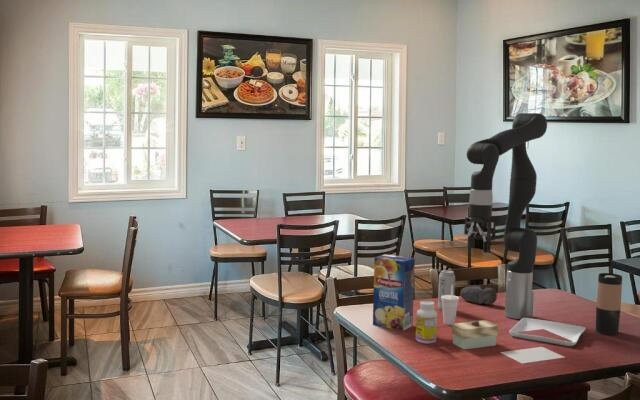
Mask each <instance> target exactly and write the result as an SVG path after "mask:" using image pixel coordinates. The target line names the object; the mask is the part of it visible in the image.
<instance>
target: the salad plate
mask: <svg viewBox="0 0 640 400" xmlns="http://www.w3.org/2000/svg"><path fill="white" fill-rule="evenodd" d="M586 329H587V328H586V327H585V326H581V325H574V324H569V323H565V322H559V321H558V322H557V321H551V320H545V319H537V318H532V317H530V318H522V319H519V321H518V322H517V323H516V324H515V325H514V326H512V327H511V328H510V329H509V331H508V333H509V334H510V335H511V336H512V337H514V338H519V339H524V340H525V339H526V340H530V341H536V342H537V341H538V342H542V343H543V342H544V343H549V344H553V345H554V344H555V345H559V346H560V345H561V346H565V347H573V346H574V347H575V345H576V344H577V343H578V341H579V338H580V337H581V336H582V334H583V333H584V332H585V331H586ZM538 330H545V331H547V332H549V333H551V334H555V335H557V336H560V337H562V338H563V340H561V339H557V338H552V337H547V336H542V335H534V334H525V333H522V332H529V331H538ZM564 339H566V340H569V341H566V340H564Z"/></svg>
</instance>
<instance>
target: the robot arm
mask: <svg viewBox="0 0 640 400" xmlns="http://www.w3.org/2000/svg"><path fill="white" fill-rule="evenodd" d="M547 129H548V121H547V118H546V116H545V115H543V114H542V113H536V112H534V113H532V112H528V113H526V112H523V113H521V112H520V113H517V114H515V116H514V118H513V121H512V126H511V128H509V129H506V130H502V131H500V132H498V133H496V134H494V135H493V136H491V137H489V138H485V139H482V140H478V141H476V142H473V143H472V144H470V146H468V148H467V150H466V158H467V161H469V162H470V163H471V164H473V165H482V168H481V169H480V170H478V171H474V172H472V173H471V176H470V193H469V199H468V200H469V203H468V204H469V205H468V216H469V217H465V219H464V232H463V235H466V237H467V248H468V249H474V248H475V247H476V245H475V244H476V235H477V234H479V235H480V236H481V237H482V240H483V241H482V243H483V245H482V248H483V249H482V251H483V253H488V254H489V253H491V252H490V251H491V242H492V241H495V240H496V222H495V221H492V222H490V218H491V217H492V215H493V178H494V174H495V171H496V169H497V165H498V163H499V160H500V156H502V155H504V154H506V153H507V152H509V151H510V150H512V151H511V153H512V154H511V156H512V157H511V169H510V179H509V182H510V183H509V196H508V197H509V199H508V208H507V215H506V220H505V226H504V231H503V245H504V248H505V249H506V250H507V251H509V252H515V253H518V258H517V259H515V260H510V261H508V262H507V265H506V281H505V302H504V303H505V304H504V315H505V317H508V318H511V319H515V320H521V319H522V318H533V316H534V303H535V302H534V298H535V292H534V291H533V277H534V274H533V273H534V267H535V263H536V256H537V247H538V236H537V233H536V231H535V230H533V229H531V228H525V227H521V222H522V218H523V214H524V212H525V210H526V208H527V207H528V206H529V205H530V203H531V201H532V200H533V198H534V196H535V195H536V191H537V182H538V181H537V177H538V176H537V172H536V169H535V167H534V165H533V163H532V161H531V159H530V158H529V155H528V153H527V143H528V142H530V141H534V140H537V139H540V138H542V137H543V136H544V135H545V133H546V132H547Z"/></svg>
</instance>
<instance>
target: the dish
mask: <svg viewBox="0 0 640 400" xmlns="http://www.w3.org/2000/svg"><path fill="white" fill-rule="evenodd" d="M452 344H453V345H455V346H457V347H459V348H460V349H462V350H470V349H478V348H484V347H485V348H486V347H494V346H497V335H494V336H486V337H477V338H469V339H462V338H460V337H458V336H456V335H454V334H453V335H452Z"/></svg>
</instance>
